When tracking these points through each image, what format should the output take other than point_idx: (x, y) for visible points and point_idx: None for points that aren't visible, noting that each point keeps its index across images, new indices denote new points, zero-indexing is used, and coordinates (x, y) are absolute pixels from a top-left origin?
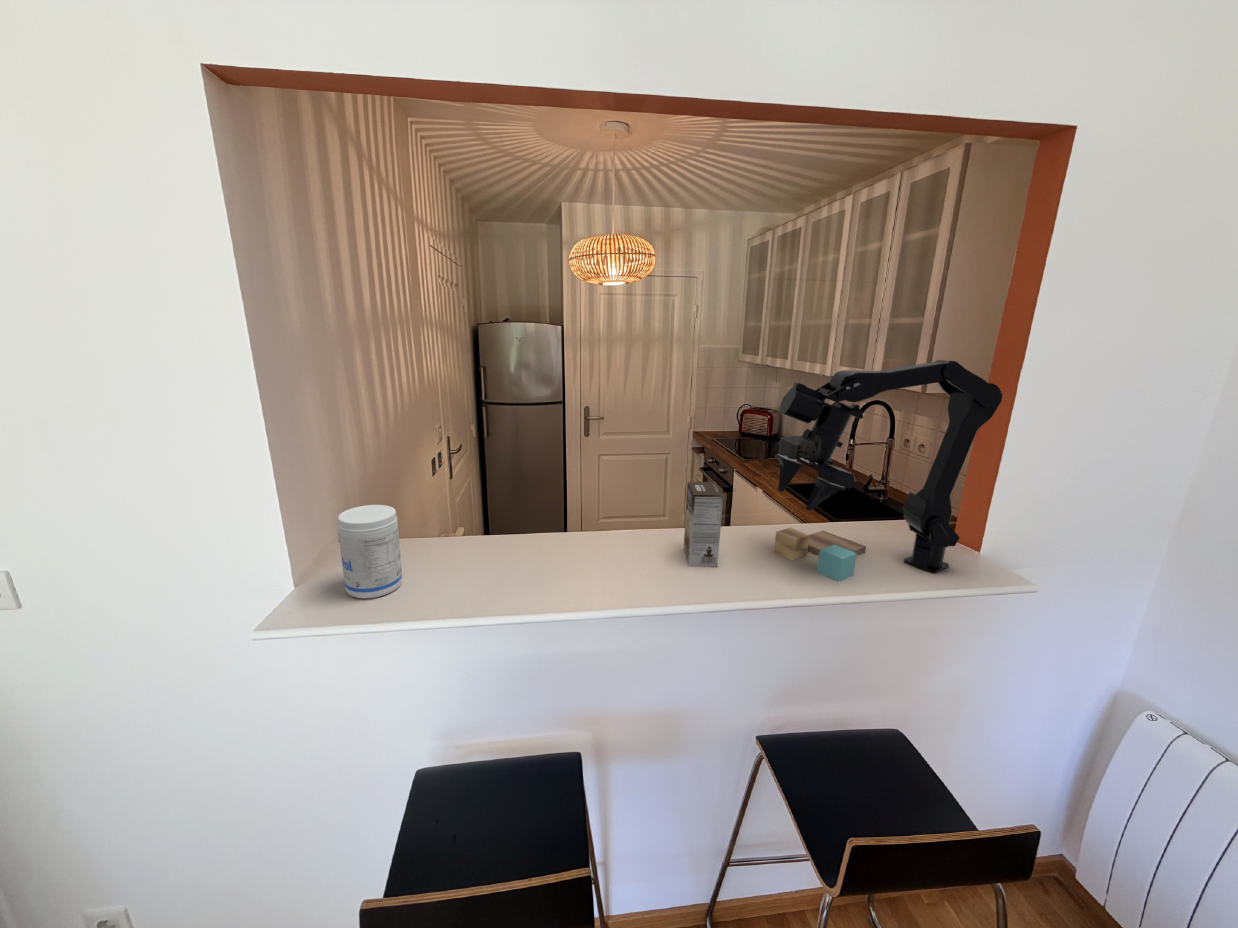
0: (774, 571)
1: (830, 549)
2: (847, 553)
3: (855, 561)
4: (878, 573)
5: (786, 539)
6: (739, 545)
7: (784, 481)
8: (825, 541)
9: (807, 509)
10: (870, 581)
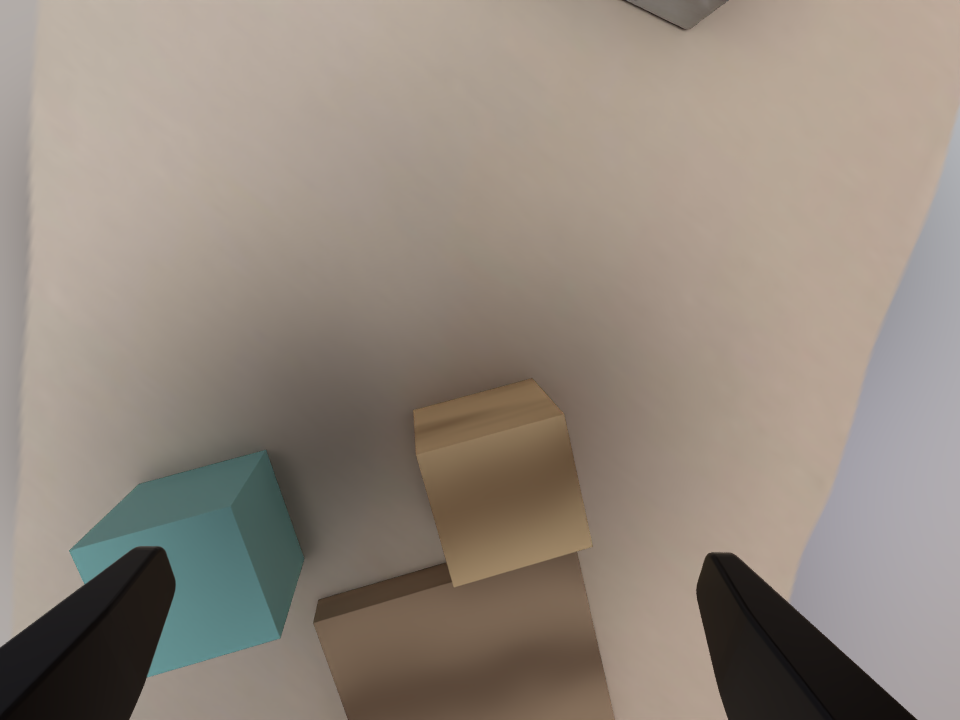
0: (324, 229)
1: (217, 569)
2: None
3: None
4: (175, 714)
5: (477, 429)
6: (666, 241)
7: (771, 705)
8: (500, 683)
9: (141, 549)
10: None
